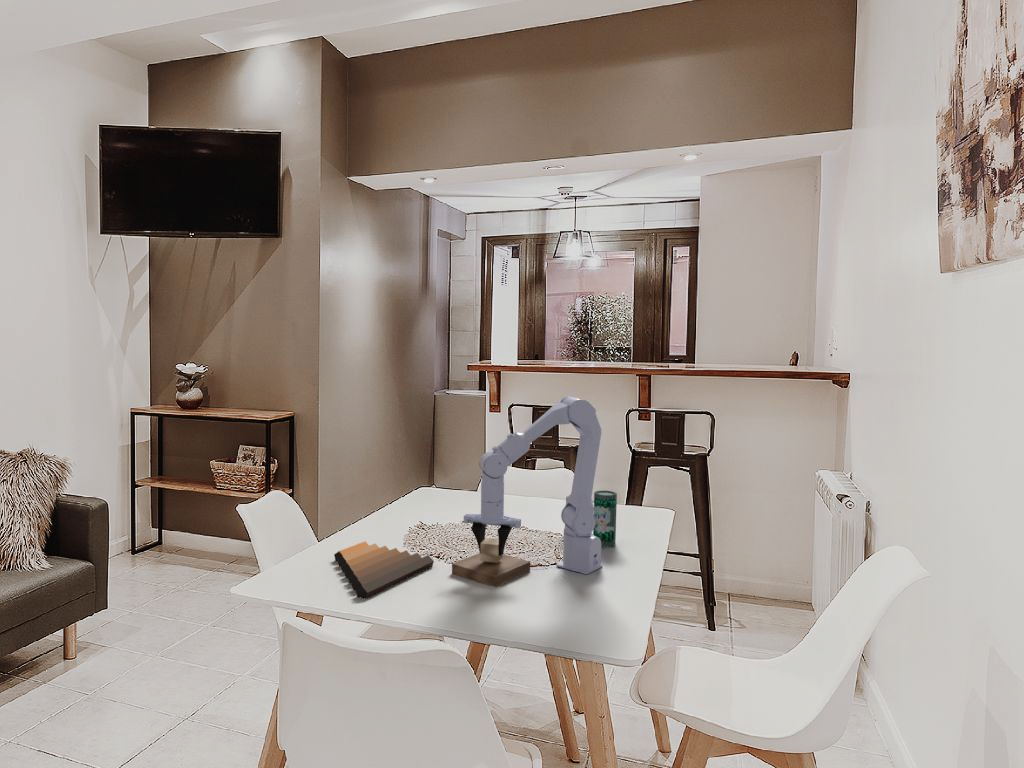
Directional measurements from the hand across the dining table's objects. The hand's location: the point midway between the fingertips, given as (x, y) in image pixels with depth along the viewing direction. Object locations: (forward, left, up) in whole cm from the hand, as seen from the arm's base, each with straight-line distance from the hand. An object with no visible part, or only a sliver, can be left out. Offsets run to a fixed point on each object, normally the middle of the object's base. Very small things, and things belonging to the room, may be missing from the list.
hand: (491, 553), depth 168 cm
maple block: (0, 0, -2) cm, 2 cm away
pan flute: (+24, +21, -6) cm, 33 cm away
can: (-10, -39, -5) cm, 41 cm away
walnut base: (0, 0, -5) cm, 5 cm away
